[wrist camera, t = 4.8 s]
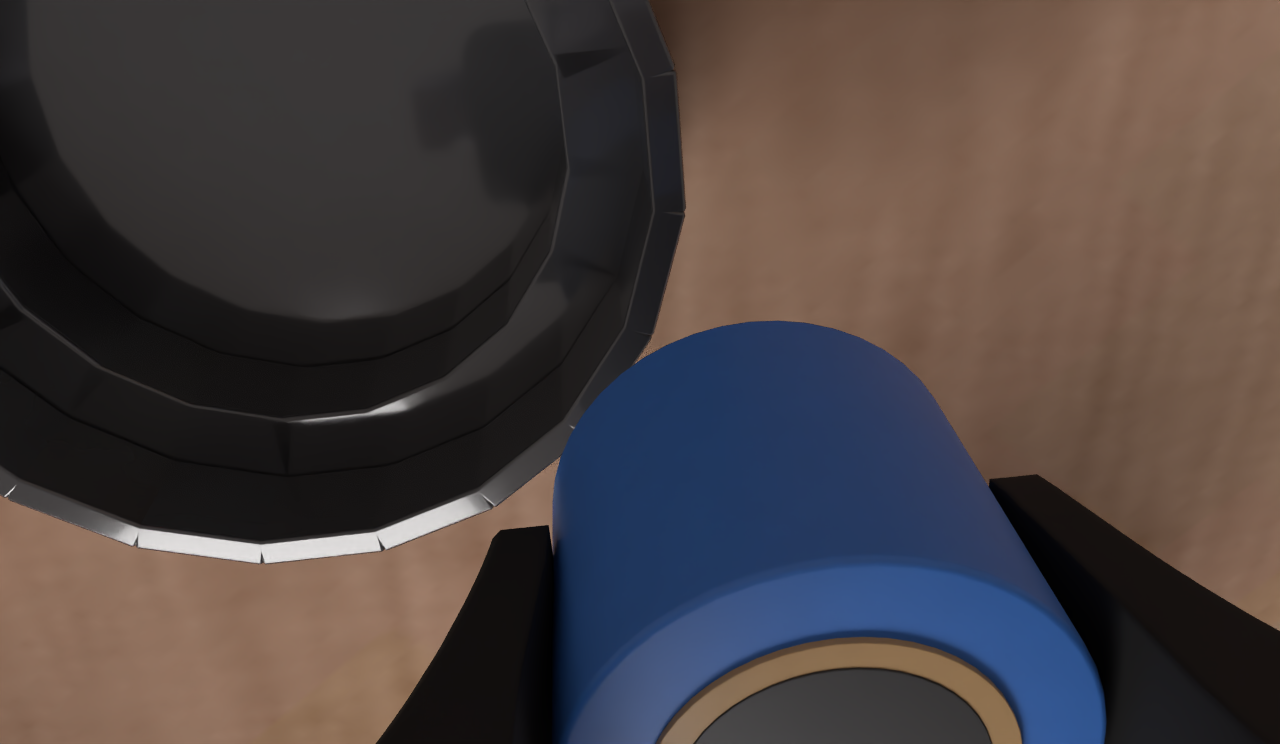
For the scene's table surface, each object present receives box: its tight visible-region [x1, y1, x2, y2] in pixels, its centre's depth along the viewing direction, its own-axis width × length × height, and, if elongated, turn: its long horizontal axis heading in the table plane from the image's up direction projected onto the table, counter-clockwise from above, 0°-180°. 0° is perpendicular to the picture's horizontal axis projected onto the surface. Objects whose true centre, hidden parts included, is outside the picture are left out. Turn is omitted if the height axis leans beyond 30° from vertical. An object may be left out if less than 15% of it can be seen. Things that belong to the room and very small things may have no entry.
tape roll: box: [552, 321, 1107, 744], centre depth 13 cm, size 6×6×5 cm
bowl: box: [0, 0, 686, 564], centre depth 17 cm, size 13×13×4 cm
